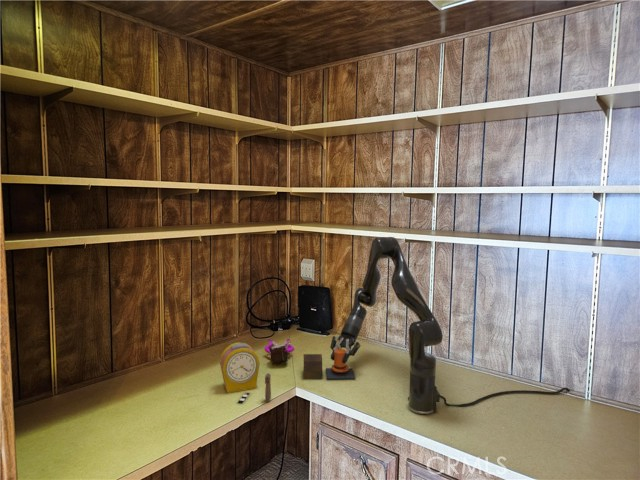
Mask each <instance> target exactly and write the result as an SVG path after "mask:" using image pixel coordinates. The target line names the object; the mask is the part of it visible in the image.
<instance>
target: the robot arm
mask: <svg viewBox="0 0 640 480" xmlns="http://www.w3.org/2000/svg"><path fill="white" fill-rule="evenodd" d="M384 259H385V260H387V259H390V260H391V261H392V263H393V266H394V267H393V268H394V269H393V273H392V275H391V283H390V284H391V288H392V290H393V291H394V294H395V296H396V298H397V299H398V301H399V302H400V303H401V304H403V305H404V306H405V307H406V308H407V309H409V310H410V311H411V312H412V313H414V315H415V316H416V317H417V318H418V321H413V322H411V323H410V325H409V328H408V355H409V385H408V386H409V387H408V388H409V389H408V397H407V401H408V409H409V410H410V411H411V412H413V413H415V414H417V415H431V414H433V413H437V403H441V399H442V400H443V403H444V405H445V406H447V407H466V406H467V407H468V406H472V405H475V404H477V403H479V402H481V401H483V400H487V399H489V398H491V397H494V396H498V395H504V394H515V393H522V394H523V393H528V394H543V395H544V394H545V395H556V394H560V393H562V392H564V391H567V392H571V390H570V389H569V388H568V387H562V388H560V389H558V390H557V391H546V390H545V391H544V390H526V389H525V390H523V389H522V390H519V389H518V390H516V389H515V390H505V391H497V392H494V393H490V394H487V395H485V396H482V397H480V398H477V399H476V400H474V401H471V402H465V403H461V404H450V403H447V399H446V397H445V396H443V395H441V394H440V392H439V391H438V386H437V385H436V376H437V374H436V373H437V358H436V356H435V355H433V354H432V353H430V352H426V351H425V349H426V348H427V347H434V346H438V345H441V344H442V342H443V330H442V328H441V326H440V323H439V321H438V319H437V318H436V316H435V315H434V314H433V312H432V311H431V309H430V307H429V306H428V304H427V302H426V300H425V298H424V296H423V294H422V292H421V290H420V288H419V285H418V283H417V282H416V280H415V277H414V276H413V273H412V272H411V270H410V268H409V266H408V263H407V261H406V259H405V256H404V254H403V251H402V247H401V245H400V243H399V241H398V239H397V238H396V237H395V236H379V237H375V238H374V239H373V240H372V242H371V244H370V249H369V256H368V263H367V269H366V273H365V276H364V278H363V281H362V285H361V287H359V288H357V289H356V290H355V293H354V298H353V304H352V309H351V310H350V312H349V315H348V317H347V318H346V321H345V322H344V325H343V327H342V329H341V332H340V334H339V336H335V335H333V336H332V337H331V338H332V339H331V343H330V350H332V352H331V354H330V360H331V361H334V351H335V350H336V349H345V350H346V354H345V355H344V357H343V360H342V362H343V363H344V364H345V363H346V364H347V363H348V360H349V358H350V357H351V356H352V357H354V356H355V355H356V354H357V352H358V351H359V349H360V348H361V343H360V341H357V339H358V337H359V336H360V332H361V330H362V328H363V324H364V321H365V319H366V317H367V313H368V311H367V309H366V308H365V307H364V306H366V307H369V308H371V307H374V306H375V305H376V304H377V300H378V299H377V298H378V294H377V293H378V288H379V285H380V282H381V279H382V274H381V270H380V268H379V265H378V264H379V263H378V262H379V261H380V260H384ZM362 305H363V306H362Z"/></svg>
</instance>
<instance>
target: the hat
mask: <svg viewBox="0 0 640 480" xmlns="http://www.w3.org/2000/svg"><path fill="white" fill-rule="evenodd" d="M345 354H346V349H344V348H342V349H336V350H335V351H334V360H333V364H332V365H331V366H330V368H331V369H332V370H333V371H335V372H346V371H348V370H349V368H350V366H349V365H348V364H347V362H346V363H345V364H344V363H343V362H342V360H343V357H344V355H345Z"/></svg>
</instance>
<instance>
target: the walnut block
mask: <svg viewBox="0 0 640 480" xmlns="http://www.w3.org/2000/svg"><path fill="white" fill-rule="evenodd" d="M303 380H323V354H321V353H303Z"/></svg>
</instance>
